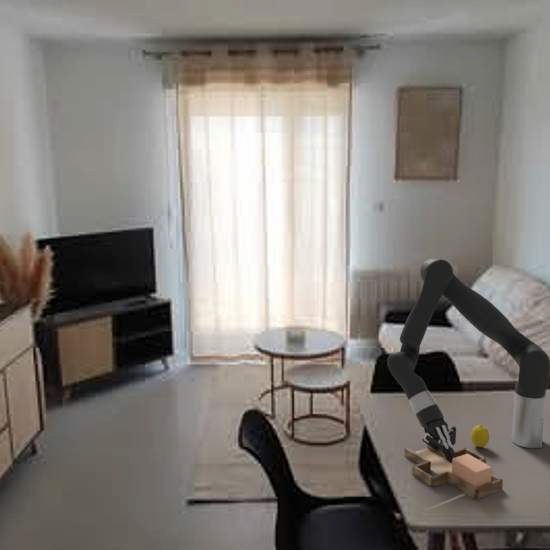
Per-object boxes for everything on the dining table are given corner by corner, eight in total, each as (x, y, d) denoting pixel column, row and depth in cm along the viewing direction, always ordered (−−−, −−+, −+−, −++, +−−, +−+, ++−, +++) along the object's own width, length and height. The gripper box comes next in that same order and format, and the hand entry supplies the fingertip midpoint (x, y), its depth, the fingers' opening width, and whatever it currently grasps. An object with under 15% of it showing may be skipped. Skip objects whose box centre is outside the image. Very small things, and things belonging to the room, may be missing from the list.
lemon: (479, 453, 191) (481, 430, 189) (467, 446, 196) (468, 423, 194) (492, 449, 193) (493, 426, 192) (479, 442, 198) (480, 420, 197)
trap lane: (390, 461, 187) (390, 452, 186) (441, 443, 198) (442, 435, 197) (461, 506, 162) (462, 496, 161) (515, 483, 173) (516, 474, 172)
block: (451, 480, 174) (452, 458, 173) (466, 475, 177) (467, 453, 176) (474, 495, 167) (475, 472, 165) (490, 489, 169) (491, 467, 168)
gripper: (416, 408, 180) (445, 463, 172) (447, 399, 187) (476, 451, 179) (403, 418, 186) (431, 471, 178) (434, 409, 192) (462, 460, 184)
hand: (453, 461), depth 178 cm, fingers closed
